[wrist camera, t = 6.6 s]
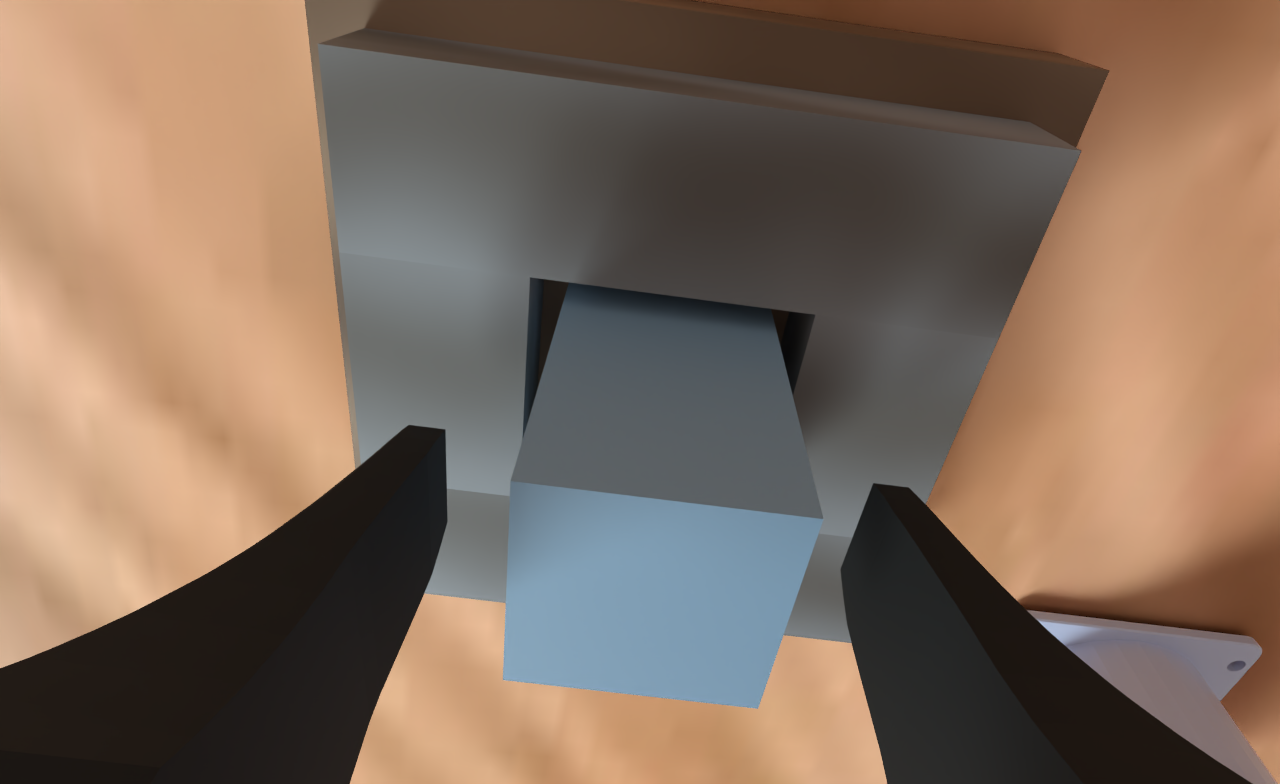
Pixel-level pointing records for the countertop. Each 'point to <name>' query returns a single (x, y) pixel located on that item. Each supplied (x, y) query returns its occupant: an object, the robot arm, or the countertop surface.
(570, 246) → the socket block
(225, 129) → the countertop surface
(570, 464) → the blue peg
